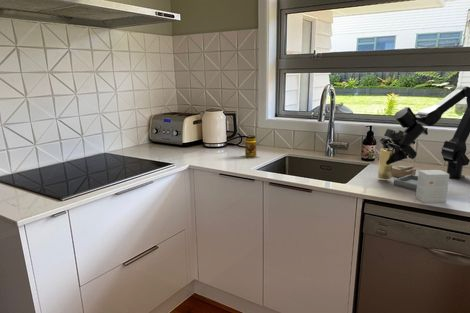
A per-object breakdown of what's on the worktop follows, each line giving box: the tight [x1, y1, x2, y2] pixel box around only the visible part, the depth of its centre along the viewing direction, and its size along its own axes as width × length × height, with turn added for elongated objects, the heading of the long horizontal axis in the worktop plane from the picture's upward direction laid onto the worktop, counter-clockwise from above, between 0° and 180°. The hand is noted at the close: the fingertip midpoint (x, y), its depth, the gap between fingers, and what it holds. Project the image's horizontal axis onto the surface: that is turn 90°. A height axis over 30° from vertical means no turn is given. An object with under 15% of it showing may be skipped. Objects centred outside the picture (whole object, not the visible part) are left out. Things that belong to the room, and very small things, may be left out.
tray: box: [393, 174, 418, 191], centre depth 136 cm, size 12×12×2 cm
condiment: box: [241, 134, 259, 160], centre depth 185 cm, size 7×8×12 cm
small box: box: [415, 169, 450, 204], centre depth 119 cm, size 8×6×10 cm
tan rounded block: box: [391, 164, 417, 178], centre depth 148 cm, size 9×7×5 cm
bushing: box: [377, 147, 395, 180], centre depth 141 cm, size 5×5×12 cm
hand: (382, 162), depth 141 cm, fingers closed on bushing, 5 cm apart
